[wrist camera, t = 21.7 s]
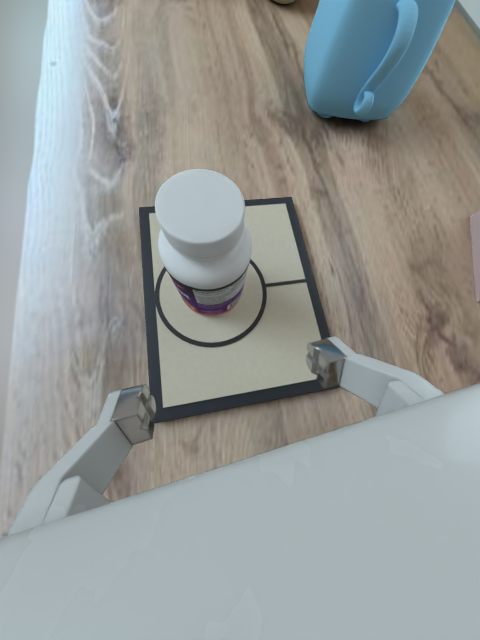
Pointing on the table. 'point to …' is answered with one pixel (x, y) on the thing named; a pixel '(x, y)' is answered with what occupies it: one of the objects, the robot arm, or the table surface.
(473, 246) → the greeting card
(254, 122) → the table surface
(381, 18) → the teapot
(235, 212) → the pill bottle
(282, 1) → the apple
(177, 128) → the table surface
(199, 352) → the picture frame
